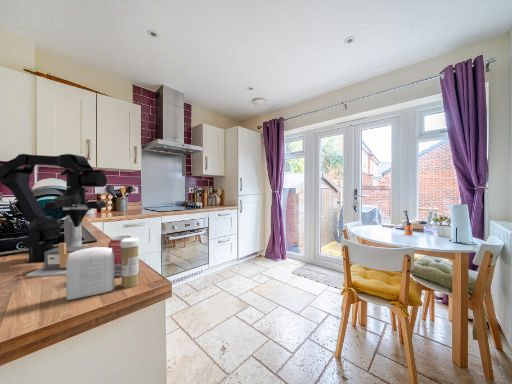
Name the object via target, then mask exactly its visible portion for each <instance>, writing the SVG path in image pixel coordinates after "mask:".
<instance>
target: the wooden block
mask: <svg viewBox="0 0 512 384" xmlns="http://www.w3.org/2000/svg"><path fill="white" fill-rule="evenodd" d="M58 247H59V254H60V268H66V261H67V259H68V255H69V254H70V253H66V243H65V242H60V243H58Z"/></svg>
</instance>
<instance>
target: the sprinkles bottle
mask: <svg viewBox="0 0 512 384" xmlns="http://www.w3.org/2000/svg"><path fill="white" fill-rule="evenodd" d="M139 242H140V241H139V238H138V237H131V238H127V239H123V240H121V251H122V252H121V255H122V259H121V275H122V276H121V284H120V286H121V288H125V289H127V288H132V287H135V286H137V285H139V283H140V281H139V244H140V243H139Z"/></svg>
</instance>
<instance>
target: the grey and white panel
mask: <svg viewBox="0 0 512 384" xmlns="http://www.w3.org/2000/svg"><path fill="white" fill-rule="evenodd" d="M86 248H92V245H82V246H76V247H66V253H72V252H75V251H78V250H81V249H86ZM44 257H45V261H44V266H42V267H40V268H39V269H36V270H34V271H32V272H29V273H27V274H26V277H27V278H31V277H34V278H35V277H50V276H52V277H53V276H66V268H60V254H59V246H58V247H54V249H52V250H49V251H46V252H44Z"/></svg>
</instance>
